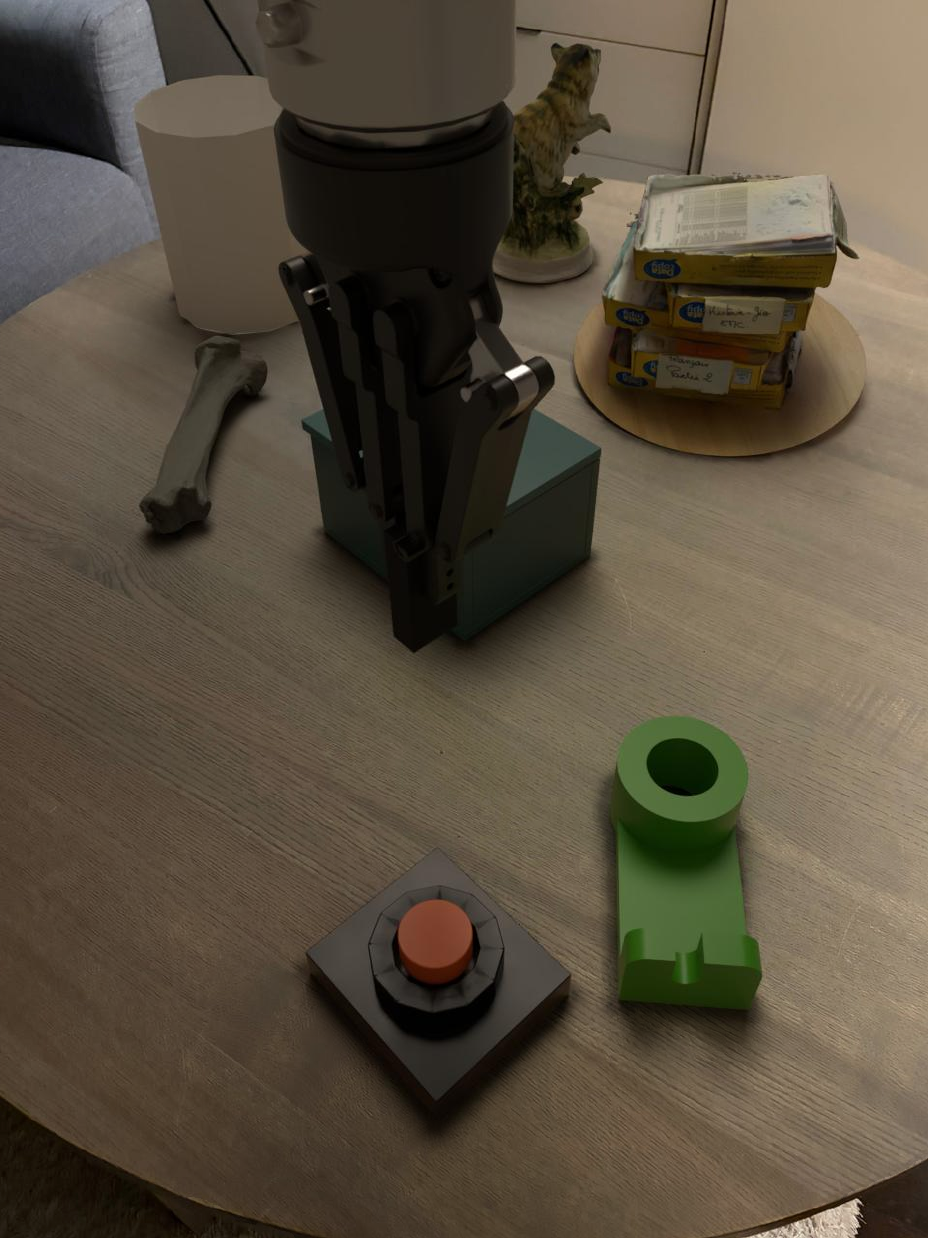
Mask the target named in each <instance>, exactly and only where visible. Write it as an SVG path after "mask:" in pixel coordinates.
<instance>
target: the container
mask: <svg viewBox="0 0 928 1238" xmlns="http://www.w3.org/2000/svg"><path fill="white" fill-rule="evenodd" d="M132 107H133V115H134V123H135V128H136V130H137V131H136V132H137V136H138V140H139V145H140V149H141V154H142V158H143V162H144V167H145V171H146V175H147V180H148V184H149V188H150V194H151V197H152V201H153V205H154V210H155V214H156V219H157V222H158V228H159V232H160V237H161V240H162V244H163V250H164V252H165V258H166V262H167V266H168V271H169V274H170V275H169V276H170V279H171V283H172V288H173V292H174V298H175V301H176V306H177V310H178V314H179V315H180V316H181V317H183V319H186V321H189V322H190V323H191V324H193V325H194V326H196V327H197V328H199V329H202V330H209V331H215V332H219V333H224V334H228V335H237V334H238V335H239V334H249V333H263V332H270V331H273V330H277V329H279V328H281V327H284V326H287V325H289V324H292V323H295V322H298V321H299V319H298V317H297V315H296V313H295V311H294V308H293V306H292V304H291V302H290V299H289V297H288V295H287V293H286V290H285V288H284V286H283V284H282V281H281V279H280V276H279V270H278V268H279V264H280V263H281V262H283V261H286V260H288V259H291V258H293V257H296V256H298V255H301V254H303V253H306V252H308V250H307V249H305V248H304V247H303V246H302V245H301V244H300V243H299V242H298V241H297V240H296V239H295V237H294V236H293V235H292V233H291V231H290V229H289V227H288V224H287V221H286V215H285V208H284V200H283V193H282V186H281V179H280V172H279V165H278V158H277V151H276V144H275V136H274V124H275V122H276V120H277V118H278V117H279V116H280V114H281V112H282V110H283V108H282V107H281V106H280V105H279V104H278V103H277V102H276V101H275V100H274V99H273V98H272V95H271V93H270V91H269V83H268V77H263V76H259V75H239V74H238V75H237V74H236V75H235V74H233V75H231V74H217V75H210V76H204V77H196V78H190V79H189V78H188V79H183V80H180V81H179V80H178V81H176V82H174V83H171V84H168V85H165V86H163V87H159V88H157V89H154V90H151V91H150V92H148V93H147V94H146V95H144V96H143V97H142V98H141V99H139V100H138V101H137V102H136V103H135V104H133V106H132Z"/></svg>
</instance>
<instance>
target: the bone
mask: <svg viewBox="0 0 928 1238" xmlns="http://www.w3.org/2000/svg"><path fill="white" fill-rule="evenodd" d="M241 347H242V343H241V341H238V340H237V339H234V338H231V337H226V336H221V335H213V336H212V337H210V338H209V339H206V340H203V341H202V342H200V343H199V344H198V345H197V347H196V348H195V351H194V352H193V357H194V365H195V368H196V373H195V376H194V377H193V381H192V385H191V390H190V393H189V397H188V399H187V401H186V403H185V407H184V408H183V412H182V413H181V416H180V418H179V420H178V423H177V425H176V427H175V428H174V431H173V433H172V435H171V437H170V439H169V442H168V443H167V445H166V448H165V452H164V456H163V458H162V462H161V465H160V468H159V472H158V476H157V478H156V479H157V480H156V483H155V485H154V486H153V487H152V488H151V489H150V491H149V492H147V494H146V495H144V496H143V498H142V499H141V500H140V502H139V504H138V507H139V510H140V511H141V513H142V514H143V517H144V518H145V522H146V523H147V524H150V525H151V527H152V528H153V529H154V530H155V532H157V533H160V534H165V535H167V534H168V533H169V534H170V533H174V532H177V531H179V530H180V529H181V528H183V527H185V525H186V524H188V523H191V522H196V521H197V522H198V521H202V520H203V521H204V520H205V519H206V518H207V517H208V515H209V514H210V513H211V512H210V511H211V510H212V500H211V498H210V497H209V494H208V491H207V482H206V481H207V480H206V476H207V472H208V469H209V463H210V456H211V455H210V454H211V451H212V449H213V447H214V444H215V442H216V439H217V437H218V433H219V431H220V427H221V424H222V421H223V417H224V413H225V410H226V407H227V406H228V405H229V402H230V401H231V399H232V398H234V396H235V395H236V394H237V393H238V392H239V391H240V390H241V389H242V388H243V387H245V386H246V387H247V389H248V390H249V394H250V395H251V396H255V395H257V394H258V393H260V392H261V391H262V389H263V387H264V386H265V384H266V382H267V379H268V373H269V367H268V365H267V362H266V360H265V359H263V357H261V355H258V354H254V353H250V352H248V351H244V350H243V351H241Z"/></svg>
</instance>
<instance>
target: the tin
mask: <svg viewBox="0 0 928 1238" xmlns="http://www.w3.org/2000/svg"><path fill="white" fill-rule="evenodd" d="M309 435H310V434H309ZM310 442H311V450H312V456H313V457H312V458H313V463H314V471H315V478H316V485H317V490H318V491H317V492H318V498H319V504H320V506H319V507H320V512H321V520H322V525H323V531H324V532H325V533H326V534H327V535H329V536H330V537H331V538H333V540H335V542H338V543H339V544H340V545H342V546H343V547H344V548H345V549H347V550H348V551H349V552H350V553H352V554H353V555H354V556H355V557H356V558H358V559H359V560H360V561H362V562H363V563H364V564H366V565H367V566H368V567H369V568H371V569H372V570H373V571H375V573H377V574H378V575H380V576H381V577H382V578H383V579H384V580H386V581H387V582H388V573H387V567H386V565H385V562H384V559H383V556H382V545H381V541H382V540H381V535H380V525H379V522H378V521H377V520H376V519H375V518H374V517H373V516H372V514H371V512H370V510H369V507H368V499H367V494H366V493H365V492H364V490H363V489H361V490H359V491H357V492H352V491H351V490H349V489H348V488H347V487H346V485H345V483H344V481H343V479H342V476H341V472H340V469H339V465H338V461H337V458H336V454H335V452H334V451H332V450H331V449H330V448H328V447H327V446H325V445H324V444H323V443H321V442H320V441H318V440H317V439H316V438H314V437H313V436H311V435H310ZM600 464H601V457H600V458H599V459H597V460H596V461H594V462H592V463H591V464H589V465H588V466H586V467H584V468H583V469H581V470H580V471H578V472H576V473H575V474H573V475H572V476H570V477H568V478H567V479H565V480H563V481H562V482H560V483H559V484H557V485H555V486H554V487H552V488H551V489H549V490H547V491H546V492H544V493H543V494H541V495H539V496H538V497H536V498H535V499H533V500H531V501H530V502H528V503H527V504H525V505H523V506H522V507H520V508H519V509H517V510H515V511H514V512H512V513H511V514H509V515H507V516H506V517H504V518H503V521H502V525H501V528H500V532H499V534H498V536H496V537H495V538H493V539H491V540H490V541H488V542H486V543H485V544H483V545H482V546H480V547H478V548H477V549H475V550H473V551H472V552H470V553H468V554H467V555H465V556H464V557H462V584H463V585H462V587H461V589H460V591H458V592H457V620H458V625H457V626H456V627H454V628H452V629H451V630H450V631H451V632H452V633H453V634H454V635H456V636H457V637H458V638H460V639H461V640H462V641H467V640H469V639H470V638H471V637H473V636H474V635H476V634H477V633H478V632H480V631H481V630H483V629H484V628H487V627H488V626H490V625H491V623H493V622H495V621H497V620H498V619H499V618H501V617H502V616H504V615H505V614H507V613H508V612H509V611H511V610H512V609H513V608H515V607H517V606H518V605H519V604H521V603H523V602H524V601H525V600H527V599H529V598H530V597H531V596H533V595H534V594H537V592H539V591H540V590H541V589H543V588H545V587H546V586H547V585H549V584H550V583H552V582H553V581H555V580H556V579H557V578H559V577H561V576H562V575H564V574H565V573H566V572H568V571H570V570H571V569H573V568H574V567H575V566H577V565H578V564H580V563H582V561H584V560H585V559H587V558H588V557H590V556H591V554H592V546H593V536H594V525H595V516H596V508H597V507H596V505H597V496H598V488H599V487H598V486H599V477H600V476H599V475H600V467H601V465H600Z"/></svg>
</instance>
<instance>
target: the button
mask: <svg viewBox="0 0 928 1238" xmlns="http://www.w3.org/2000/svg"><path fill="white" fill-rule="evenodd" d="M398 944H399V953H400V959H401V962H402V964H403V966H404V968H405V970H406V971H407V972H408V973H409V974H410V975H411V976H412V977H413V978H415V979H416V980H418V981H420V982H423V983H427V984H433V985H436V984H444V983H448V982H450V981H453V980H454V979H456V978H458V977H459V976H460V975H461V974H462V973H463V972H464V971H465V970H466V969H467V967H468V966H469V964H470V961H471V959H472V954H473V930H472V925H471V922H470V920H469V918H468V916H467V915H466V913H465V912H464V911H463V910H462V909H461V908H460V907H458V906H457V905H455V904H453V903H451V902H449V901H445V900H438V899H434V900H427V901H423V902H421V903H418V904H417V905H415V906H413V907H412V908H411V909H410V910H409V911H407V913H406V914H405V915H404V916H403V918H402V920H401V922H400V924H399V928H398Z"/></svg>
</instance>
